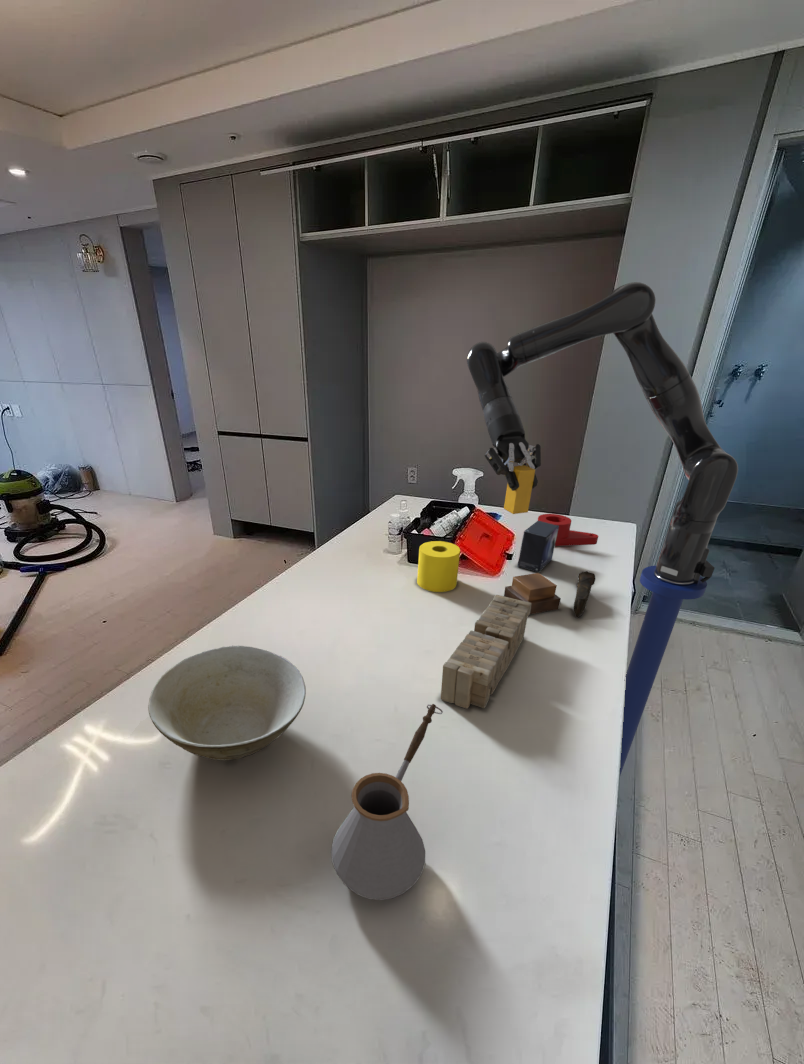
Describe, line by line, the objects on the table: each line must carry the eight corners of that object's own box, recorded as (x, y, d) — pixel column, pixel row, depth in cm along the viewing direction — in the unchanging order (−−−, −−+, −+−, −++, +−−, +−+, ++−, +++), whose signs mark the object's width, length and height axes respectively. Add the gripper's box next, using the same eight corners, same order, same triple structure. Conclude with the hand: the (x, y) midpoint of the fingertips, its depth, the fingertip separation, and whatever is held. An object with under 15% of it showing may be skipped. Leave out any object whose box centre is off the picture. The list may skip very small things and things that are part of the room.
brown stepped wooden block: (535, 592, 126) (539, 570, 123) (558, 609, 118) (563, 586, 115) (503, 597, 123) (506, 575, 120) (524, 615, 116) (529, 592, 113)
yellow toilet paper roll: (455, 575, 134) (459, 542, 129) (457, 593, 125) (460, 558, 121) (417, 573, 135) (420, 540, 131) (416, 590, 127) (418, 556, 122)
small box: (540, 573, 135) (547, 536, 130) (516, 567, 138) (522, 531, 133) (553, 560, 142) (560, 524, 137) (530, 554, 146) (536, 519, 140)
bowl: (336, 720, 86) (335, 672, 81) (236, 822, 69) (227, 769, 64) (236, 673, 97) (230, 629, 93) (128, 751, 80) (113, 702, 75)
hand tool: (576, 583, 130) (580, 566, 128) (593, 586, 128) (597, 570, 126) (563, 616, 116) (567, 599, 113) (582, 621, 114) (586, 603, 112)
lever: (536, 544, 152) (540, 523, 148) (532, 533, 160) (536, 513, 156) (600, 548, 149) (605, 527, 146) (593, 536, 157) (598, 516, 154)
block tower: (480, 718, 88) (527, 634, 109) (486, 680, 83) (534, 601, 104) (438, 702, 91) (491, 624, 112) (441, 665, 87) (496, 591, 108)
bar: (518, 507, 121) (525, 465, 116) (528, 512, 118) (535, 469, 113) (503, 508, 120) (509, 466, 115) (513, 514, 117) (519, 471, 112)
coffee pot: (398, 932, 56) (404, 846, 49) (313, 880, 62) (307, 795, 54) (466, 796, 72) (478, 716, 65) (394, 764, 78) (398, 687, 70)
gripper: (483, 414, 113) (505, 482, 109) (538, 410, 117) (561, 476, 113) (469, 433, 120) (489, 498, 116) (521, 430, 124) (542, 493, 120)
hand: (524, 487), depth 115 cm, fingers closed on bar, 4 cm apart
